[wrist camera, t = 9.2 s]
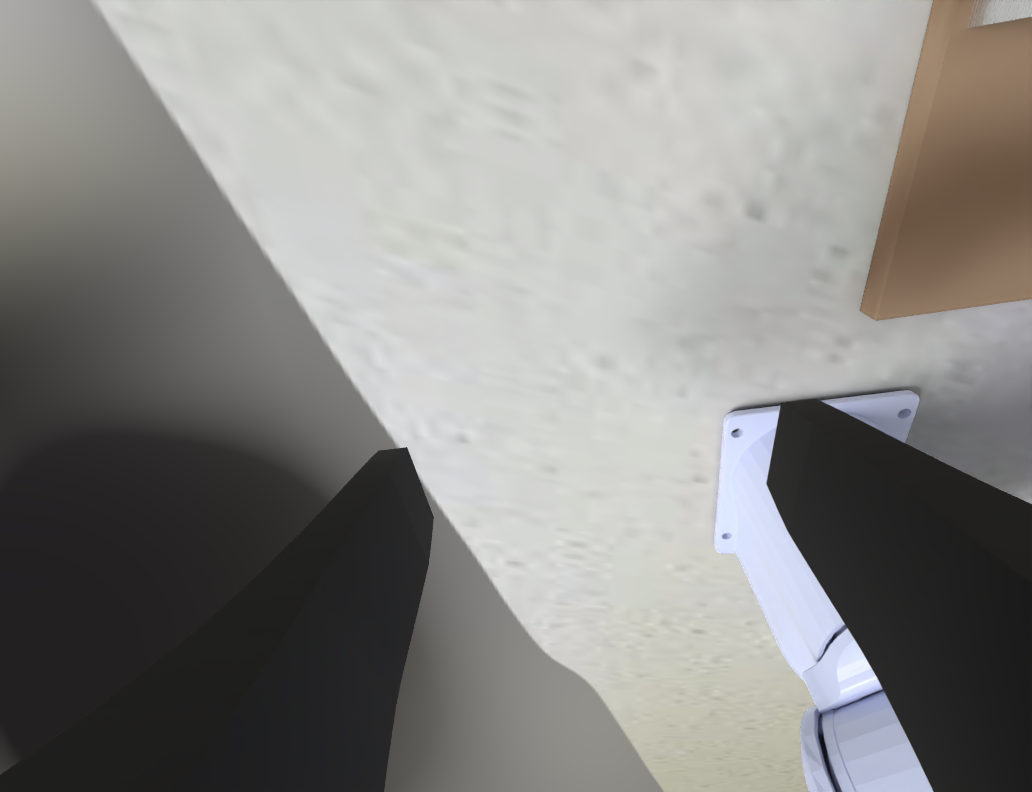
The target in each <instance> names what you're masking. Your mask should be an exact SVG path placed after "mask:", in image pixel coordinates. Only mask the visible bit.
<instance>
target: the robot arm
mask: <svg viewBox="0 0 1032 792" xmlns="http://www.w3.org/2000/svg"><path fill="white" fill-rule="evenodd" d="M919 402H920V398H919V396H918V395H917V394H915V393H914V392H912V391H910V390H903V391H895V392H887V393H879V394H871V395H862V396H854V397H846V398H838V399H830V400H822V401H819V400H817V399H812V400H803V401H795V402H786V403H781V406H773V407H764V408H756V409H748V410H740V411H734V412H731V413H729V414H728V415H727V416H726V417H725V419H724V424H723V436H722V449H721V462H720V475H719V487H718V500H717V513H716V525H715V538H714V546H715V549H716V551H717V552H718V553H721V554H728V553H736V554H737V556H738V558H739V560H740V563H741V565H742V567H743V569H744V571H745V574H746V576H747V578H748V580H749V582H750V585H751V587H752V589H753V591H754V593H755V596H756V598H757V600H758V602H759V604H760V607H761V609H762V611H763V613H764V616H765V618H766V620H767V622H768V624H769V627H770V629H771V631H772V633H773V635H774V638H775V640H776V642H777V644H778V646H779V649H780V651H781V652H782V654H783V656H784V658H785V659H786V661H787V662H788V664H789V665H790V666H791V668H792V669H793V670H794V671H795V672H796V673H797V675H798V676H799V677H800V678H801V679H802V680H803V681H805V683H806V685H807V687H808V689H809V692H810V694H811V696H812V698H813V700H814V702H815V704H816V705H815V706H812V707H811V708H809V709H808V710H806V711H805V713H804V715H803V717H802V720H801V726H800V738H801V758H802V765H803V770H804V775H805V779H806V783H807V786H808V789H809V792H1032V504H1030V503H1028V502H1026V501H1023V500H1021V499H1019V498H1017V497H1015V496H1012V495H1010V494H1008V493H1006V492H1004V491H1001V490H999V489H997V488H995V487H993V486H991V485H988V484H986V483H984V482H982V481H980V480H978V479H976V478H974V477H972V476H970V475H968V474H966V473H963V472H961V471H959V470H957V469H955V468H953V467H951V466H949V465H947V464H945V463H943V462H941V461H939V460H937V459H935V458H933V457H931V456H929V455H927V454H925V453H923V452H921V451H919V450H917V449H915V448H913V447H911V446H909V445H907V444H906V443H905V442H906V439H907V436H908V434H909V431H910V428H911V425H912V422H913V419H914V417H915V414H916V411H917V408H918V405H919ZM903 409H904V410H903ZM902 410H903V411H902ZM900 411H902V412H900ZM899 412H900V413H899ZM734 429H739V430H738V431H737V432H734V433H732V431H733V430H734ZM433 519H434V517H433V514H432V511H431V509H430V506H429V504H428V501H427V498H426V496H425V493H424V491H423V488H422V485H421V483H420V480H419V477H418V475H417V472H416V470H415V467H414V464H413V462H412V459H411V456H410V454H409V451H408V449H407V447H406V448H398V449H390V450H381V451H378V452H377V453H376V454H375V455H374V456H373V457H372V458H371V459H370V460H369V461H368V462H367V463H366V464H365V465H364V466H363V467H362V468H361V469H360V470H359V471H358V472H357V473H356V474H355V475H354V477H353V478H352V479H351V480H350V481H349V482H348V483H347V484H346V485H345V486H344V487H343V488H342V490H341V491H340V492H339V493H338V494H337V495H336V496H335V497H334V498H333V499H332V500H331V501H330V502H329V503H328V504H327V506H326V507H325V508H324V509H323V510H322V511H321V512H320V513H319V514H318V515H317V516H316V517H315V518H314V519H313V520H312V521H311V523H309V524H308V526H307V527H306V528H305V529H304V530H303V531H302V532H301V533H300V534H299V535H298V536H297V537H296V538H295V539H294V540H293V541H292V542H291V543H290V544H289V545H287V547H285V548H284V549H283V550H282V551H281V552H280V553H279V554H278V555H277V556H276V557H275V558H274V559H273V560H272V561H271V562H270V563H269V564H268V565H267V566H266V567H265V568H264V569H263V570H262V571H261V572H260V573H259V574H258V575H257V576H256V577H255V578H254V579H253V580H252V581H250V583H248V584H247V585H246V586H245V587H244V588H243V589H242V590H241V591H240V592H238V593H237V594H236V595H235V596H234V597H233V598H232V599H231V600H230V601H228V602H227V603H226V604H225V605H224V606H223V607H222V608H220V609H219V610H218V611H217V612H216V613H215V614H213V615H212V616H211V617H210V618H209V619H208V620H206V621H205V622H204V623H203V624H202V625H200V626H199V627H198V628H197V629H196V630H195V631H193V632H192V633H191V634H190V635H189V636H187V637H186V638H185V639H184V640H183V641H181V642H180V643H179V644H178V645H176V646H175V647H174V648H172V649H171V650H170V651H169V652H167V653H166V654H165V655H164V656H162V657H161V658H160V659H158V660H157V661H156V662H154V663H153V664H152V665H151V666H149V667H148V668H147V669H145V670H144V671H143V672H142V673H140V674H139V675H138V676H136V677H135V678H134V679H133V680H131V681H130V682H129V683H127V684H126V685H125V686H124V687H122V688H121V689H120V690H119V691H117V692H116V693H114V694H113V695H112V696H111V697H109V698H108V699H107V700H105V701H104V702H103V703H101V704H100V705H99V706H97V707H96V708H95V709H93V710H92V711H91V712H89V713H88V714H87V715H85V716H83V717H82V718H81V719H79V720H78V721H77V722H75V723H74V724H72V725H71V726H70V727H68V728H67V729H66V730H64V731H63V732H61V733H60V734H58V735H57V736H56V737H54V738H53V739H52V740H50V741H49V742H47V743H46V744H44V745H43V746H42V747H40V748H38V749H37V750H36V751H34V752H33V753H31V754H30V755H28V756H27V757H25V758H24V759H22V760H21V761H20V762H18V763H17V764H15V765H14V766H12V767H11V768H10V769H8V770H7V771H5V772H4V773H2V774H1V775H0V792H384V787H385V779H386V771H387V764H388V757H389V750H390V744H391V737H392V730H393V723H394V716H395V709H396V704H397V699H398V694H399V688H400V684H401V679H402V674H403V670H404V666H405V662H406V658H407V653H408V649H409V645H410V641H411V637H412V633H413V629H414V624H415V620H416V616H417V612H418V608H419V604H420V599H421V595H422V591H423V586H424V582H425V578H426V573H427V569H428V565H429V557H430V549H431V540H432V529H433Z"/></svg>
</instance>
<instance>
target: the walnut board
mask: <svg viewBox="0 0 1032 792" xmlns="http://www.w3.org/2000/svg"><path fill="white" fill-rule="evenodd" d="M974 2H975V0H933V5H932V9H931V13H930V17H929V21H928V26H927V30H926V34H925V38H924V42H923V47H922V51H921V55H920V59H919V64H918V68H917V72H916V76H915V80H914V85H913V89H912V93H911V97H910V101H909V106H908V110H907V114H906V118H905V123H904V127H903V131H902V135H901V139H900V144H899V148H898V152H897V156H896V160H895V165H894V169H893V173H892V177H891V181H890V186H889V190H888V194H887V198H886V203H885V207H884V211H883V215H882V219H881V224H880V228H879V232H878V236H877V240H876V245H875V249H874V253H873V257H872V261H871V266H870V270H869V274H868V278H867V283H866V287H865V291H864V295H863V299H862V304H861V308H860V311H861V312H863V313H864V314H866V315H868V316H869V317H871V318H872V319H874V320H876V321H877V320H884V319H892V318H899V317H906V316H913V315H920V314H927V313H934V312H941V311H948V310H955V309H962V308H970V307H977V306H984V305H991V304H998V303H1005V302H1012V301H1019V300H1026V299H1032V17H1027V18H1021V19H1016V20H1010V21H1005V22H999V23H994V24H988V25H983V26H977V27H972V28H967V27H968V24H969V20H970V16H971V13H972V9H973V5H974Z"/></svg>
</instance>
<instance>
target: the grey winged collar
mask: <svg viewBox="0 0 1032 792" xmlns="http://www.w3.org/2000/svg"><path fill="white" fill-rule="evenodd" d="M1027 17H1032V0H975V2H974V5H973V9H972V13H971V16H970V20H969V24H968V27H967V28H972V27H977V26H983V25H988V24H994V23H999V22H1005V21H1010V20H1016V19H1021V18H1027Z"/></svg>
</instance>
